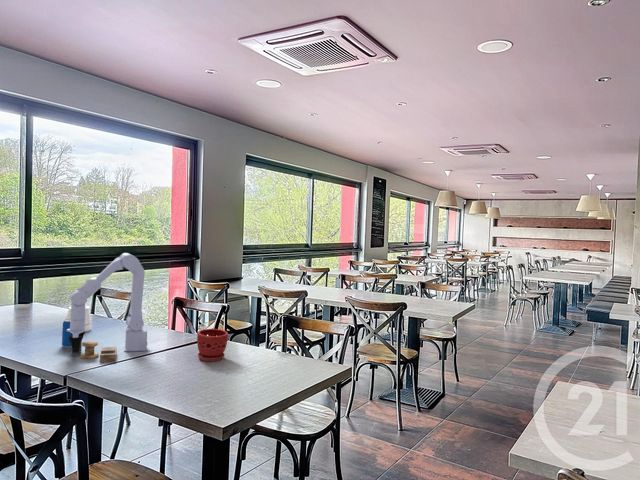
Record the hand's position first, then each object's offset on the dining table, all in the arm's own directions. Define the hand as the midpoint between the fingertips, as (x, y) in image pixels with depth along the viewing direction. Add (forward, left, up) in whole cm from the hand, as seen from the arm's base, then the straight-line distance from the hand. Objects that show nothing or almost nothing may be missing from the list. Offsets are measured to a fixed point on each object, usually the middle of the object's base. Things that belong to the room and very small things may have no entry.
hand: (76, 350), depth 204 cm
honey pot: (+4, -47, -2) cm, 47 cm away
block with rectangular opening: (-13, +8, -2) cm, 15 cm away
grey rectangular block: (0, 0, -2) cm, 2 cm away
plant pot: (-55, +17, -2) cm, 58 cm away
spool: (-6, +5, -2) cm, 8 cm away
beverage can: (+4, -14, -2) cm, 15 cm away
